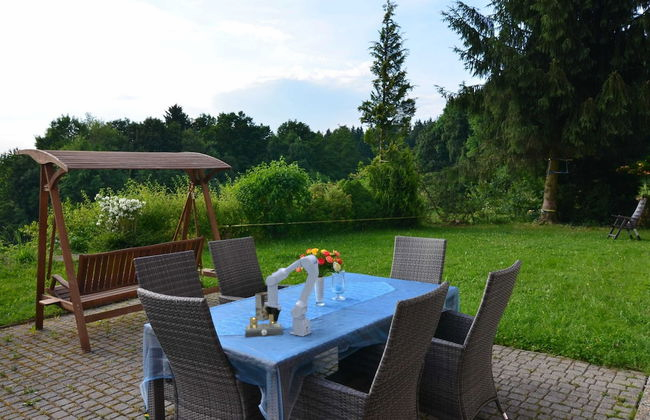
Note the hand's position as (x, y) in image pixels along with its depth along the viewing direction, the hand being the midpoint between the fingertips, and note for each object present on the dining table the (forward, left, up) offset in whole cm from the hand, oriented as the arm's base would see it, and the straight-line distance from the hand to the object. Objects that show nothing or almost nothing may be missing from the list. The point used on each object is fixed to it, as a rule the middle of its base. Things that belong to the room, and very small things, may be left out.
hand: (273, 320), depth 268 cm
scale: (+3, +5, -6) cm, 8 cm away
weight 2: (0, 0, -1) cm, 1 cm away
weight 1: (+8, +8, -3) cm, 11 cm away
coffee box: (+23, -16, -6) cm, 29 cm away
